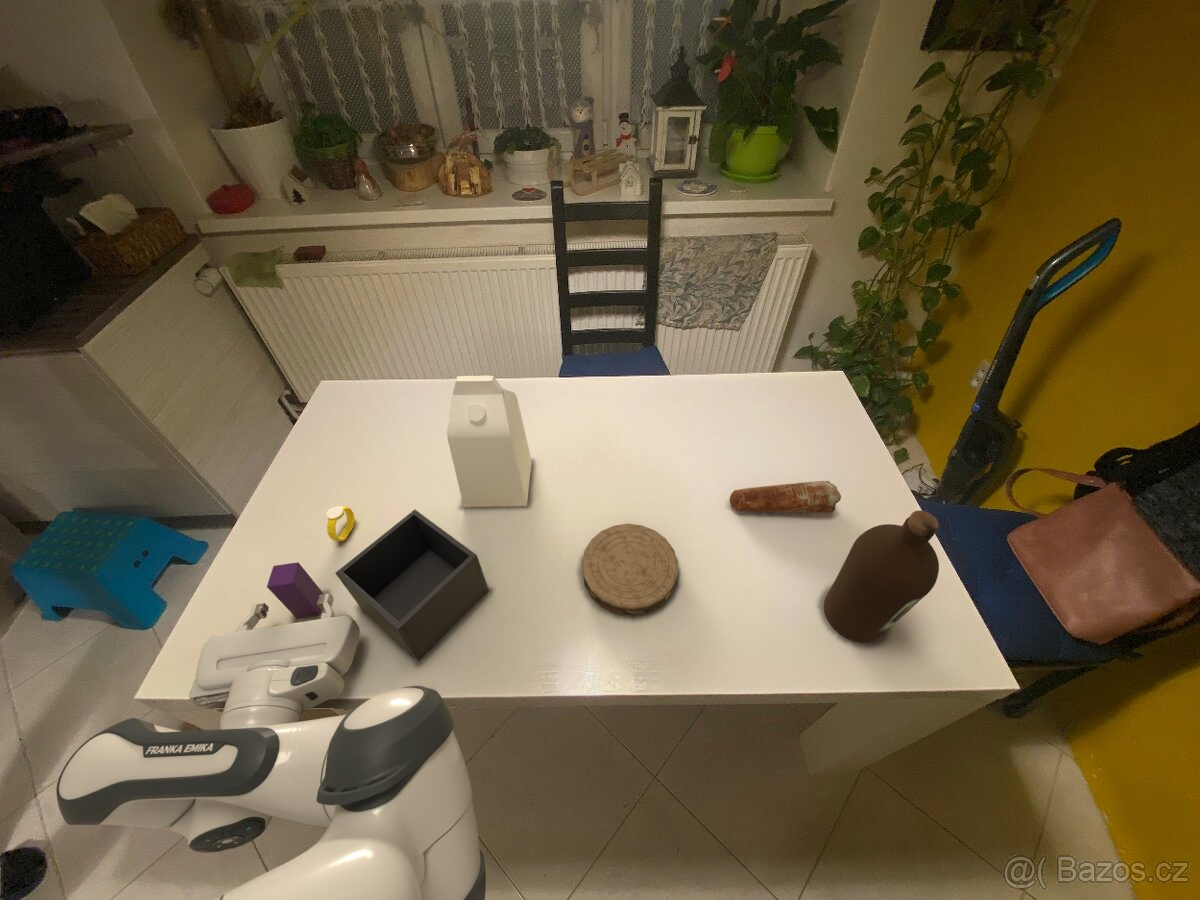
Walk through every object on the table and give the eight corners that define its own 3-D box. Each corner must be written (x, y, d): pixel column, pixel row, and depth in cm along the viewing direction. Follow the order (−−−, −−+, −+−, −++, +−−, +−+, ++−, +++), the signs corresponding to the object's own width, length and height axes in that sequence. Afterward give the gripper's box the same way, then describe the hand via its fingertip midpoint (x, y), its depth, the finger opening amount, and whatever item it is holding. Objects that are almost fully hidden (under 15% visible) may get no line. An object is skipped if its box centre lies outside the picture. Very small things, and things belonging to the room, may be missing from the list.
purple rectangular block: (320, 614, 81) (292, 583, 74) (296, 618, 81) (266, 586, 74) (324, 594, 84) (298, 562, 77) (301, 598, 83) (273, 565, 76)
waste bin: (418, 661, 76) (397, 630, 68) (360, 607, 82) (334, 572, 74) (489, 590, 84) (477, 555, 76) (431, 546, 90) (414, 509, 83)
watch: (346, 547, 90) (333, 527, 86) (331, 545, 91) (317, 526, 86) (361, 520, 94) (349, 500, 90) (347, 518, 95) (335, 498, 90)
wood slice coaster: (563, 582, 85) (562, 572, 83) (617, 519, 94) (617, 509, 92) (643, 635, 78) (644, 627, 76) (693, 562, 87) (695, 553, 85)
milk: (531, 461, 104) (515, 356, 86) (526, 505, 96) (507, 400, 78) (473, 462, 104) (444, 358, 86) (463, 507, 96) (429, 402, 78)
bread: (834, 519, 93) (844, 500, 89) (730, 517, 94) (736, 499, 90) (824, 492, 98) (834, 473, 94) (725, 491, 98) (730, 472, 94)
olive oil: (806, 615, 80) (864, 521, 63) (837, 572, 86) (899, 474, 68) (872, 662, 75) (955, 574, 57) (901, 613, 81) (985, 519, 63)
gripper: (198, 716, 69) (232, 620, 78) (354, 690, 71) (369, 600, 81) (169, 700, 64) (209, 601, 74) (337, 672, 66) (355, 579, 76)
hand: (294, 600), depth 77 cm, fingers open, 8 cm apart
